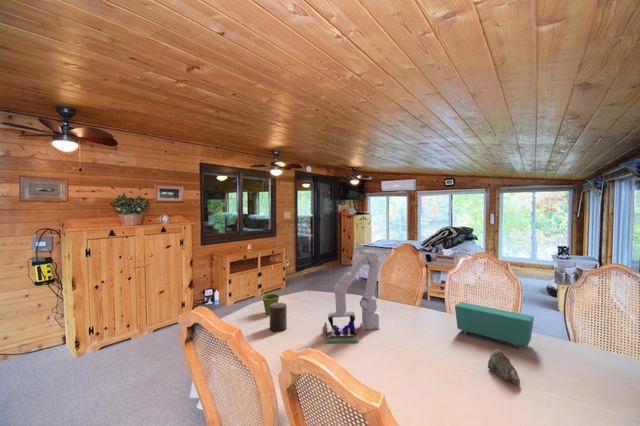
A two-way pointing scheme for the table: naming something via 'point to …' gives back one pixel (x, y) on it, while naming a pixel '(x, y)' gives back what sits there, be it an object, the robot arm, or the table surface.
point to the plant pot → (269, 301)
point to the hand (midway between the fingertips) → (341, 329)
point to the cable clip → (344, 329)
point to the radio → (495, 323)
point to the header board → (342, 338)
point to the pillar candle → (278, 317)
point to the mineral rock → (503, 367)
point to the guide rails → (327, 331)
